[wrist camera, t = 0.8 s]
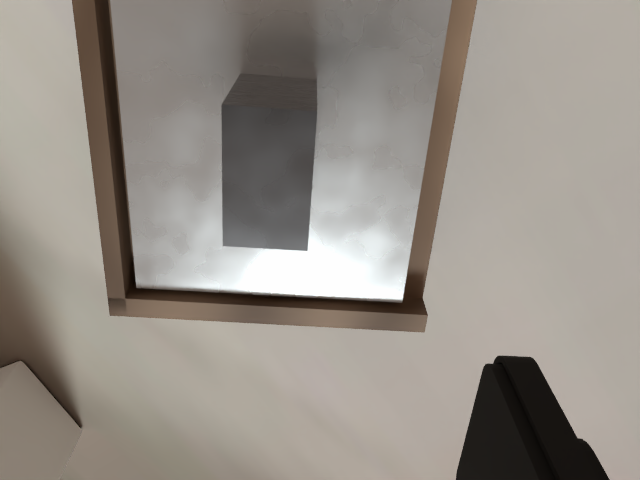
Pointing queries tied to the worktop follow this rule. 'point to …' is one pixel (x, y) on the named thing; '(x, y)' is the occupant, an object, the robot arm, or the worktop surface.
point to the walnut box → (250, 308)
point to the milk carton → (32, 428)
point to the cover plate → (347, 141)
